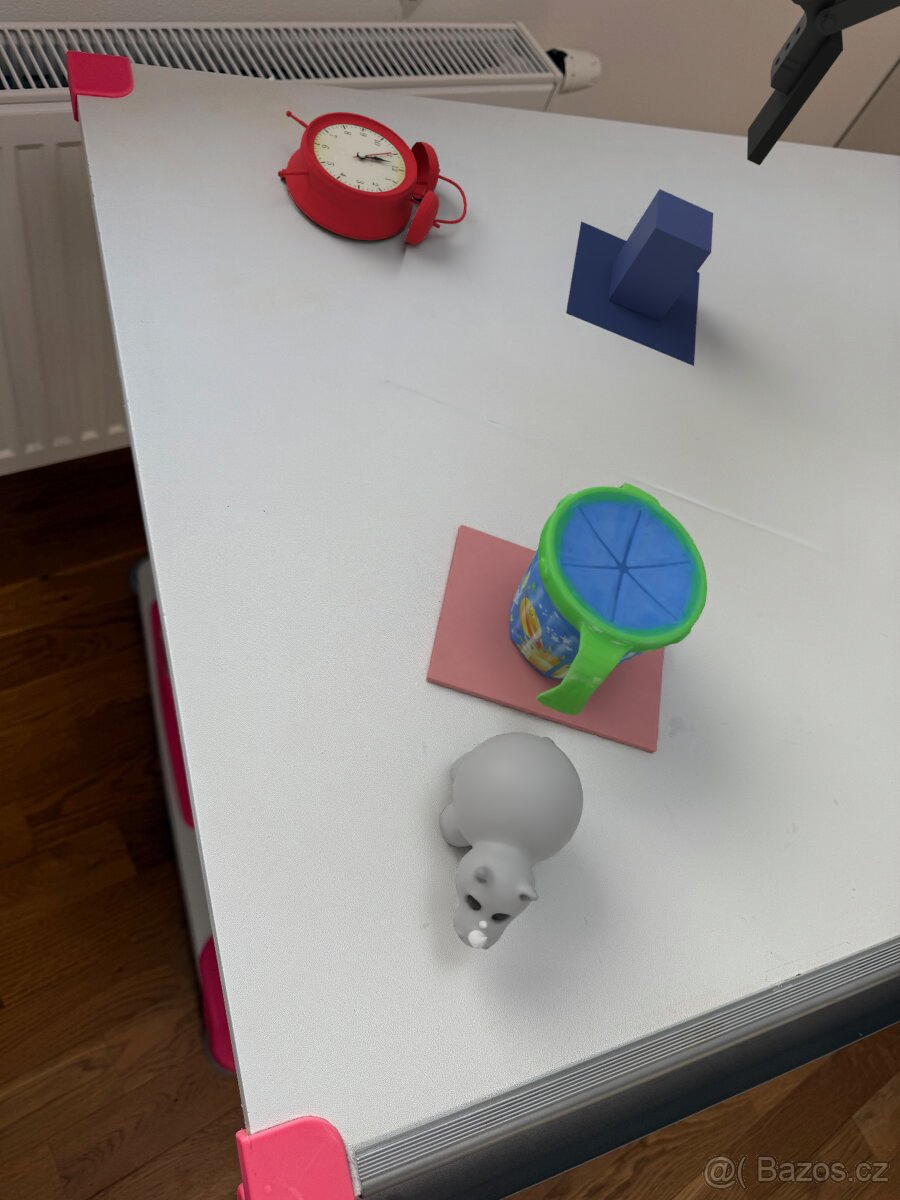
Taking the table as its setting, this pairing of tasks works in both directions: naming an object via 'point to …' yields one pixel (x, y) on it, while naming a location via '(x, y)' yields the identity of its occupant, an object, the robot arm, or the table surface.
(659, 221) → the navy block
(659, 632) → the snack cup
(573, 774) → the chubby cartoon animal
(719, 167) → the table surface
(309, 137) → the alarm clock
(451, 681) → the rose mat
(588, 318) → the navy mat
